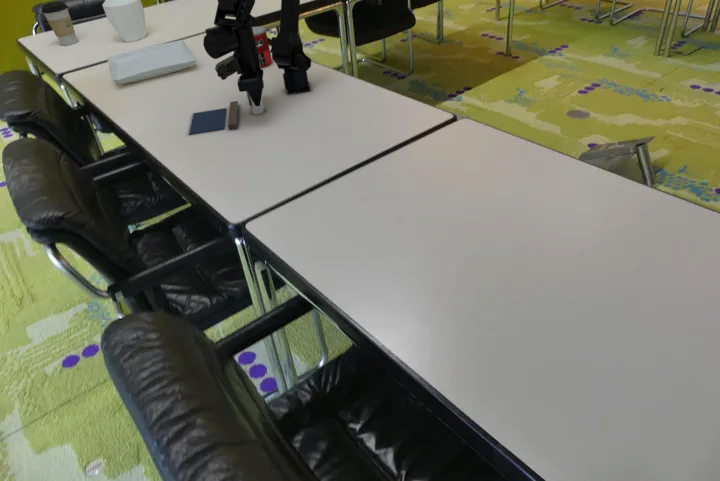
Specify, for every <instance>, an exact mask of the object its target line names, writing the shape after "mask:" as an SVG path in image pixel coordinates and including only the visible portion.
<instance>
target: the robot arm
mask: <svg viewBox="0 0 720 481" xmlns="http://www.w3.org/2000/svg"><path fill="white" fill-rule="evenodd" d="M255 4H256V0H217V7H216V11H215V17H214V21H213V25H214V26H212V27H208V28H206V29H205V30H204V31H205V34H206V35H204V36H203V43H202V45H203V48H204V51H205V52H206V54H207V55H208V56H209V57H210V58H212V59H213V60H217V59H220V58H222V57H225V56H226V55H228V54H231V53H232V52H233V53H232V55H230V56H228V57H226V58H224V59H222V60H220V61H219V62H217V63H216V64H215V67H214V70H215V72H216V74H217V77H219V78H220V79H221V80H222V81H224V80H227V78H228V77H230V76H232V75H234V74H235V73H236V74H237V75H239V77H238V79H237V88H238V91H239V92H240V93H244V92H245V91H248V92H249V94H250V96H251V98H252V100H253V102H254V104H255V106H260V102H261V96H262V97H263V91H264V88H265V82H264V69H263V68H264V67H263V61H262V57H261V56H260V55H258V52H257V45H256V43H255V39H254V34H253V29H252V27H253V26H252V24H254V23H256V22H258V18H256V17H255V16H253V15H252V14H251V13H252V11H253V8H254V6H255ZM300 6H301V0H281V2H280V18H279V19H280V21H279V32H278V33H277V35H276V36H272V37H271V40H270V41H271V43H270V44H271V48H270V54H271V59H272V61H274V63H275V65H276V67H277V68H278V69H279V70H283V73H282V78H283V84H284V90H285V91H287V95H291V94H297V93H304V92H309V91H311V87H310V82H309V78H308V72H307V71H309V69H310V68H312V59H311V57H309V56H308V55H306V53H304V46H303V42H302V40H301V37H300V34H299V22H300V8H301V7H300ZM261 67H263V68H261Z"/></svg>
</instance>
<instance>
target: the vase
mask: <svg viewBox="0 0 720 481" xmlns="http://www.w3.org/2000/svg"><path fill="white" fill-rule="evenodd" d="M101 6H102V8H103V11H104V13H105V16H106V18H107V20H108V22H109V23H110V25H111V27H113V30H114V31H115V32H116V33H117V35H118V36H119V37H120V38H121V39H122V40H123V41H124V43H125V42H126V43H130V42H131V43H132V42H136V41H139V40H142V39H145V37H146V36H147V34H148V33H147V25H146V15H145V10H144V6H143V3H142V0H104V1H103V3H102V5H101Z"/></svg>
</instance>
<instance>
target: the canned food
mask: <svg viewBox="0 0 720 481" xmlns="http://www.w3.org/2000/svg"><path fill="white" fill-rule="evenodd" d="M252 29H253V34H254V39H255V43H256V45H257V52H258V55H260V56H261V57H262V61H263V67H261V69H264V68H266V67H268V66H270V65H272V61H273V59H272V53H271V52H270V51H271V48H270V44H269V40H268V35H267V30H266V28H265V27H264V26H252Z"/></svg>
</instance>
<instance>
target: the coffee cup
mask: <svg viewBox="0 0 720 481" xmlns="http://www.w3.org/2000/svg"><path fill="white" fill-rule="evenodd" d="M41 13H42V14H43V15H44V16H45V19H46V21H47V22H48V24H49V26H50V28H51V29H52V32H53V33H54V35H55V36H56V37H57V39H58V41H59V43H60V45H61V46H71V45H74V44H76V43H77V42H78V39H77V36H76V31H75V28H74V24H73V21H72V17H71V15H70V13H69V6H68V5H67V4H66V3H65V2H64V1H53V2H49V3H46V4H43V5H41Z"/></svg>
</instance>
